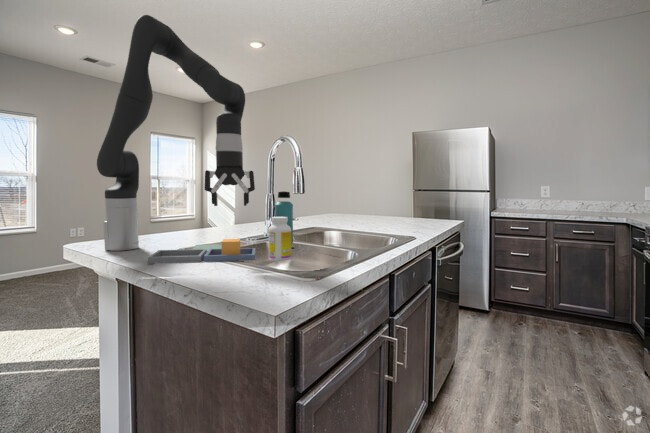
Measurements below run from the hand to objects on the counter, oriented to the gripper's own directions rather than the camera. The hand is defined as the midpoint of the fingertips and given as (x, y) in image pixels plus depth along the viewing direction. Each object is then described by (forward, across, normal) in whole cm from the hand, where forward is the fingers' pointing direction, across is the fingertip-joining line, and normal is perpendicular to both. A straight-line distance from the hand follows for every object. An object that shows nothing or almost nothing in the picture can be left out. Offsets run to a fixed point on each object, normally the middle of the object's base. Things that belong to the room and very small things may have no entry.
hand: (230, 205), depth 104 cm
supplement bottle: (+16, -14, +4) cm, 22 cm away
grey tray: (+16, +15, 0) cm, 22 cm away
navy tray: (+16, 0, 0) cm, 16 cm away
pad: (+16, +8, -13) cm, 22 cm away
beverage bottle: (+16, -16, -12) cm, 26 cm away
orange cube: (+15, 0, 0) cm, 16 cm away
